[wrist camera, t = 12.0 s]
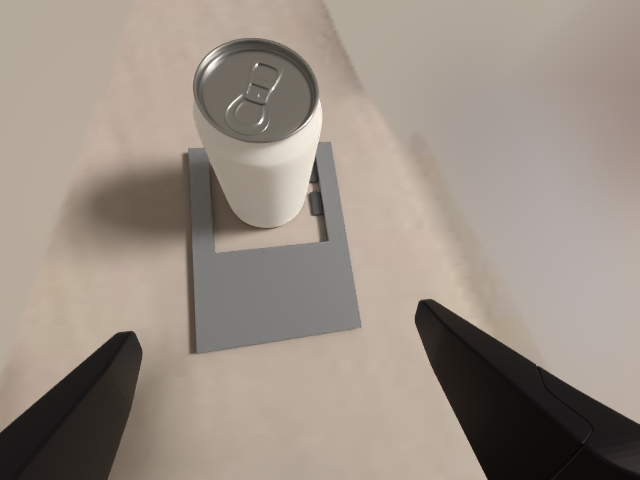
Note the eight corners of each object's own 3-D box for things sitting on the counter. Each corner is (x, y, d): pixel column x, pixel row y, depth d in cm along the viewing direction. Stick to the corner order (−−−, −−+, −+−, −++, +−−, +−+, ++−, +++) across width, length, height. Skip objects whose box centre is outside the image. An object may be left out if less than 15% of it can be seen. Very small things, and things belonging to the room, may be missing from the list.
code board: (359, 327, 23) (361, 327, 23) (198, 352, 21) (196, 353, 21) (329, 145, 27) (330, 141, 26) (190, 152, 25) (188, 148, 24)
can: (215, 216, 24) (157, 122, 12) (242, 149, 26) (213, 12, 14) (292, 239, 24) (306, 170, 13) (313, 171, 26) (342, 56, 14)
